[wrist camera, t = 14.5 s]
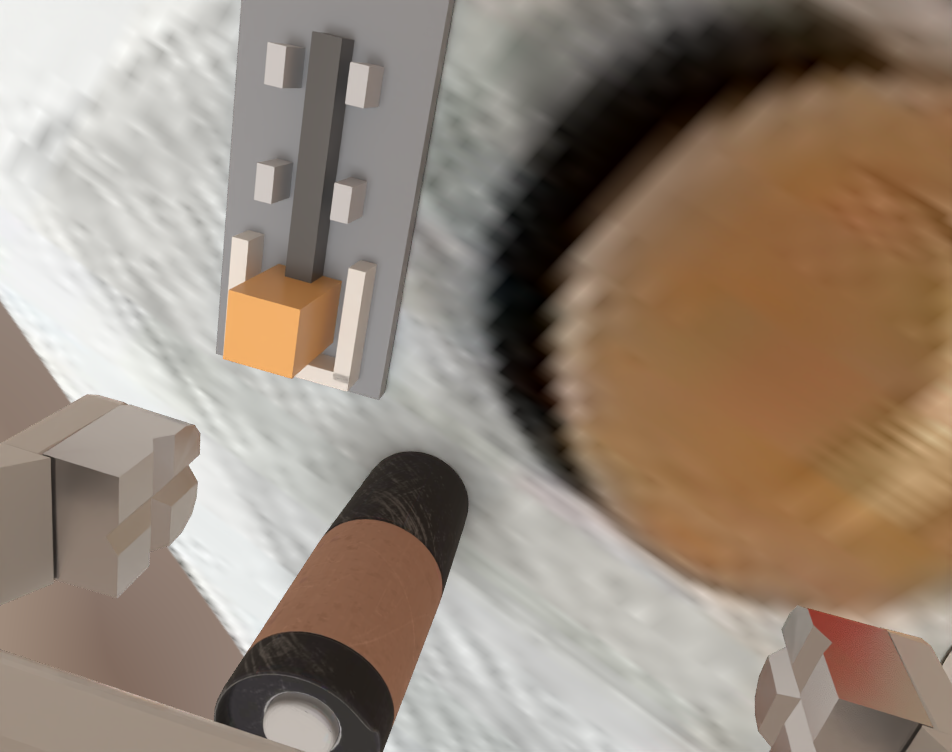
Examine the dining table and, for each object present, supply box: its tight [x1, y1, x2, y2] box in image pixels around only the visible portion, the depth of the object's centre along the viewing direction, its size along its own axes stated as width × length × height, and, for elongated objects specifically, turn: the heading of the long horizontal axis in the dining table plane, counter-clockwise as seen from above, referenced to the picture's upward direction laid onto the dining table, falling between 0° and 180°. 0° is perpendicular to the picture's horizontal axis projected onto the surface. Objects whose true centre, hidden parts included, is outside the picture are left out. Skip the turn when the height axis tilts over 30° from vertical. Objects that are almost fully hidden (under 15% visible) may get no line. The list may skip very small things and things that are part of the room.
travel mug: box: [214, 452, 468, 752], centre depth 40 cm, size 8×8×20 cm
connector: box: [223, 31, 355, 379], centre depth 39 cm, size 17×4×6 cm, turn 168°
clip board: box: [216, 0, 455, 400], centre depth 40 cm, size 11×28×4 cm, turn 168°
